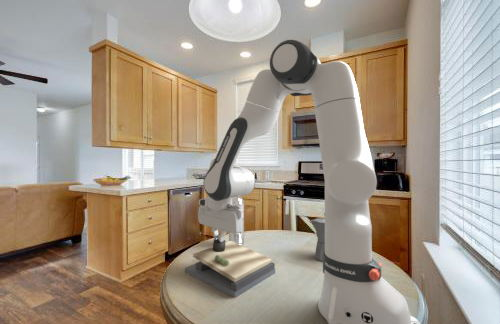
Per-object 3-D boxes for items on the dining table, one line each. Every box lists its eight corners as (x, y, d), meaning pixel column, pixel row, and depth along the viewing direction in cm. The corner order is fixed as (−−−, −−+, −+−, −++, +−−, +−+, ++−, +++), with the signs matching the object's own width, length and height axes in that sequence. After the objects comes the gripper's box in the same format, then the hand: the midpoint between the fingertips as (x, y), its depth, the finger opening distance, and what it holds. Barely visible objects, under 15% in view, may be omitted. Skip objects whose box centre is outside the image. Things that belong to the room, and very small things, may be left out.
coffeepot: (311, 262, 90) (311, 215, 90) (307, 253, 99) (307, 210, 100) (353, 263, 89) (353, 216, 89) (344, 254, 98) (344, 211, 98)
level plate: (271, 262, 81) (272, 250, 80) (234, 282, 67) (236, 267, 67) (230, 243, 94) (231, 233, 93) (192, 256, 80) (193, 244, 80)
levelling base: (275, 272, 81) (275, 262, 81) (235, 297, 65) (235, 285, 66) (226, 255, 96) (226, 246, 96) (184, 272, 81) (184, 261, 81)
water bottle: (241, 250, 102) (242, 192, 103) (226, 248, 104) (227, 192, 104) (245, 244, 109) (245, 191, 110) (231, 243, 110) (231, 190, 111)
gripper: (247, 205, 80) (246, 245, 80) (208, 198, 94) (207, 232, 94) (234, 207, 76) (233, 250, 76) (195, 199, 89) (194, 236, 89)
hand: (218, 240), depth 85 cm, fingers closed
